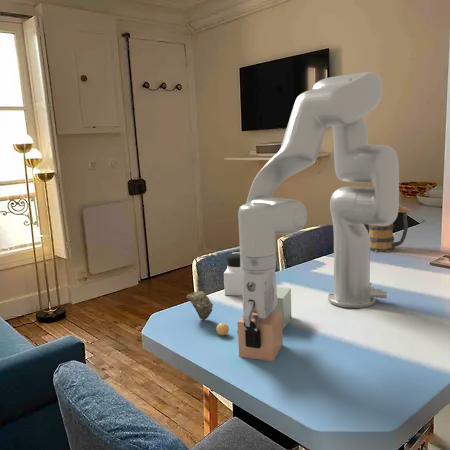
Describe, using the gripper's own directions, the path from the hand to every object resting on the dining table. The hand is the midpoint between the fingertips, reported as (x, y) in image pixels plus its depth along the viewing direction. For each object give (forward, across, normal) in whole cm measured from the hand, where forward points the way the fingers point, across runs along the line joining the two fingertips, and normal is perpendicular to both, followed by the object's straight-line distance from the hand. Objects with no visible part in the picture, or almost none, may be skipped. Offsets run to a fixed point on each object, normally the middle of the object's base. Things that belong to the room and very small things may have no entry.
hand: (260, 337), depth 97 cm
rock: (+4, +11, +20) cm, 23 cm away
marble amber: (+3, +5, +12) cm, 13 cm away
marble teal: (+2, +5, +7) cm, 9 cm away
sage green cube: (+3, +16, +2) cm, 16 cm away
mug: (+4, +94, -21) cm, 96 cm away
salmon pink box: (+3, 0, 0) cm, 3 cm away
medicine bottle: (+4, +35, +19) cm, 40 cm away
